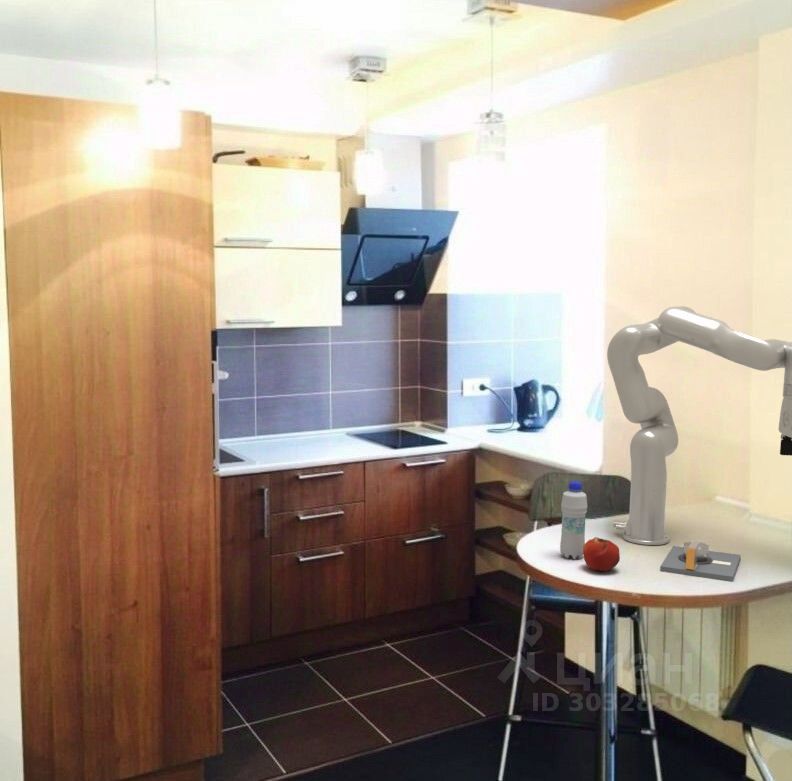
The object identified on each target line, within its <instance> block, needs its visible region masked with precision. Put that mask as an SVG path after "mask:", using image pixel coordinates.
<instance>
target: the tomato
mask: <svg viewBox="0 0 792 781" xmlns="http://www.w3.org/2000/svg"><path fill="white" fill-rule="evenodd" d="M620 555H621V554H620V548H619V546H618V545H617V544H615V543H614V542H613V541H611V540H610V539H604V538H601V537H600V538H599V537H597V536H595V537H594V538H592V539H588V540H587V541H585V544H584V546H583V559H584V560H583V561H584V562H585V564H586V566H587V567H588V568H589V569H591V570H594V571H601V572H607V571H610V570H612V569H613V568H615V567H616V566H617V565H619V562H620V558H621V556H620Z"/></svg>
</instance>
